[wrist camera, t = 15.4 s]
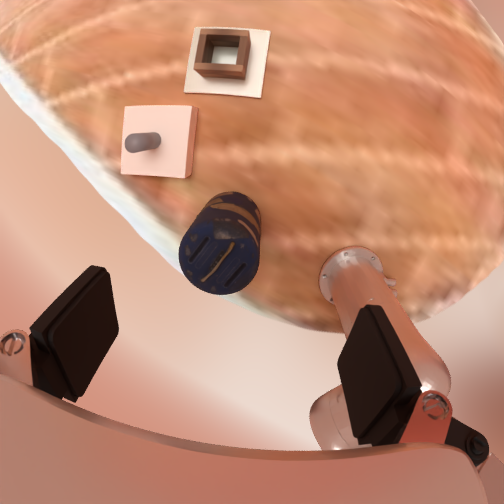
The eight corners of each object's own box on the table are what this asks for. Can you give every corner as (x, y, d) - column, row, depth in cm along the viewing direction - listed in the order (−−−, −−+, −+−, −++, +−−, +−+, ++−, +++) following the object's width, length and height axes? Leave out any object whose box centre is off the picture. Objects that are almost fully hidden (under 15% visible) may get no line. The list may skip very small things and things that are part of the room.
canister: (193, 212, 46) (155, 258, 29) (237, 177, 43) (219, 206, 27) (228, 253, 49) (211, 316, 32) (272, 223, 46) (276, 276, 30)
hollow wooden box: (251, 43, 33) (248, 30, 28) (245, 79, 36) (242, 71, 30) (208, 40, 33) (200, 28, 27) (202, 77, 36) (193, 69, 30)
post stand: (198, 108, 38) (177, 101, 28) (191, 174, 43) (169, 187, 33) (136, 107, 38) (101, 104, 28) (131, 169, 43) (98, 182, 33)
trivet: (270, 32, 33) (270, 30, 32) (260, 98, 38) (260, 97, 37) (196, 28, 32) (194, 27, 32) (185, 92, 37) (183, 92, 37)
